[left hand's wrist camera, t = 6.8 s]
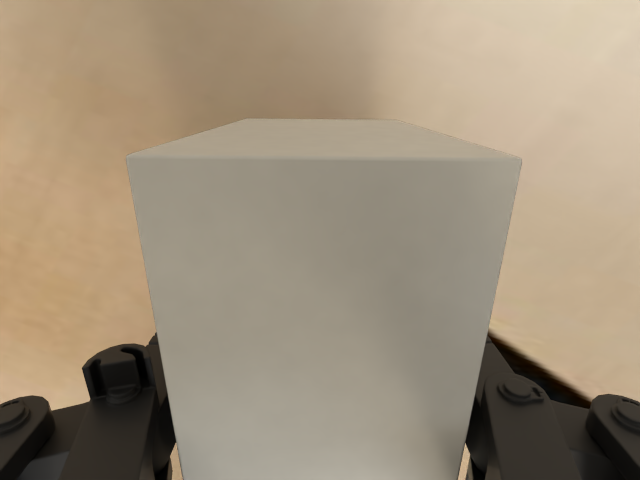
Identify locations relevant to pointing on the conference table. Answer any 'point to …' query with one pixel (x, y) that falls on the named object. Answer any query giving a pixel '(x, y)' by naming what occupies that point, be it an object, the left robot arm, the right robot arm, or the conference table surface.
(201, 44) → the conference table surface
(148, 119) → the conference table surface
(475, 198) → the post
